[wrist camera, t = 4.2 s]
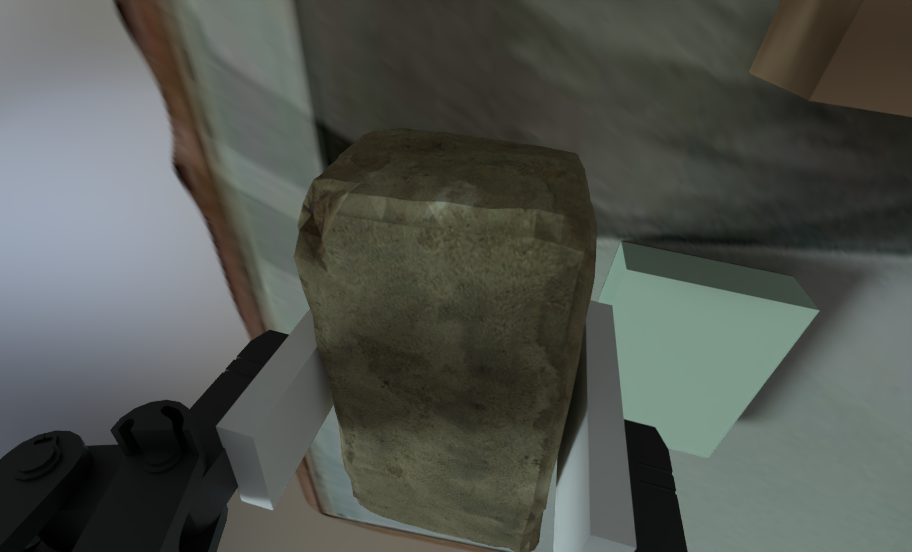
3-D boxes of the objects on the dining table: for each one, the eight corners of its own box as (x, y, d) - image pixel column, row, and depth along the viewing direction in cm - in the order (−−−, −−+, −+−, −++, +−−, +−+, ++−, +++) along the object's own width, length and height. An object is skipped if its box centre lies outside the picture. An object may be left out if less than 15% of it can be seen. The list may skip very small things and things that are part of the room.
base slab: (621, 241, 24) (626, 269, 22) (793, 276, 23) (819, 310, 21) (565, 387, 31) (564, 421, 28) (696, 419, 30) (707, 458, 27)
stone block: (600, 121, 10) (615, 223, 6) (550, 432, 17) (542, 579, 13) (364, 113, 11) (245, 193, 7) (405, 406, 18) (354, 534, 14)
